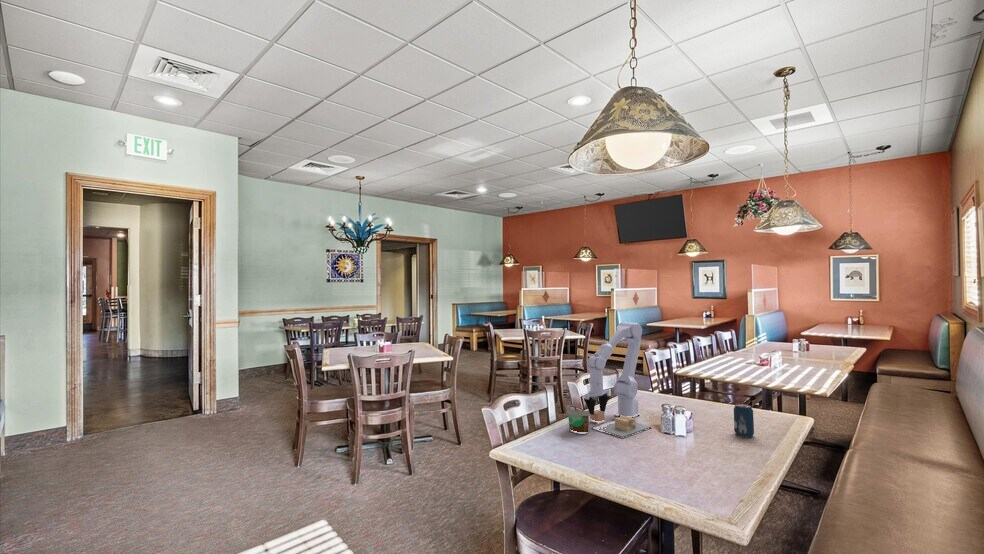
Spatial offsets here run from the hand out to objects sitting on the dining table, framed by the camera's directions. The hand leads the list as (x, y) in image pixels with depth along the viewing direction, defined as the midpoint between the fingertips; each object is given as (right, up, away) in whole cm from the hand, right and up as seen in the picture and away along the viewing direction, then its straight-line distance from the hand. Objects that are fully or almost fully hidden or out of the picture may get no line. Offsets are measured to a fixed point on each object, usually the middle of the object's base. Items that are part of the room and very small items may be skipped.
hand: (597, 412), depth 200 cm
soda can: (+54, -3, -22) cm, 58 cm away
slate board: (+8, -4, -10) cm, 14 cm away
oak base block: (+9, -4, -12) cm, 16 cm away
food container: (-12, -4, -13) cm, 19 cm away
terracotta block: (0, -4, 0) cm, 4 cm away
